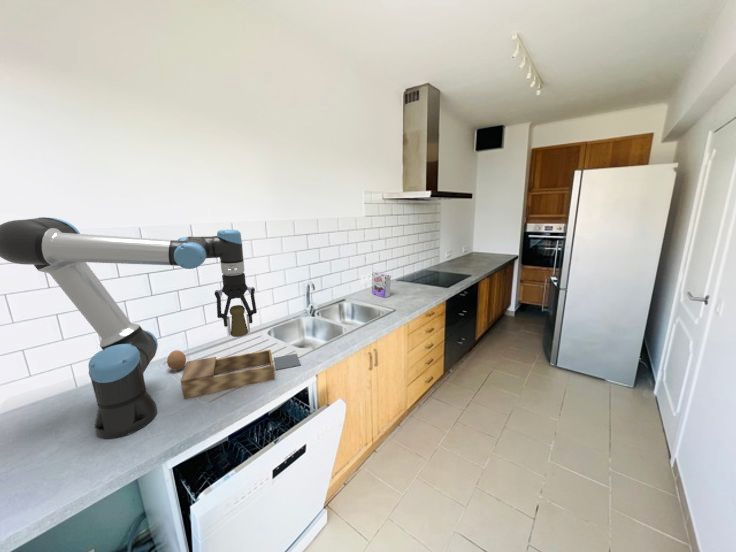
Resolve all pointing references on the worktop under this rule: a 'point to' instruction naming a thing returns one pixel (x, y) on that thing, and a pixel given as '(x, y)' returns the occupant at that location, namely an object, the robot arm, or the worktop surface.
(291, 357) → the slate mat
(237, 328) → the cork
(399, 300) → the worktop surface
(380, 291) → the candy box
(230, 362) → the crate
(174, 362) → the egg
